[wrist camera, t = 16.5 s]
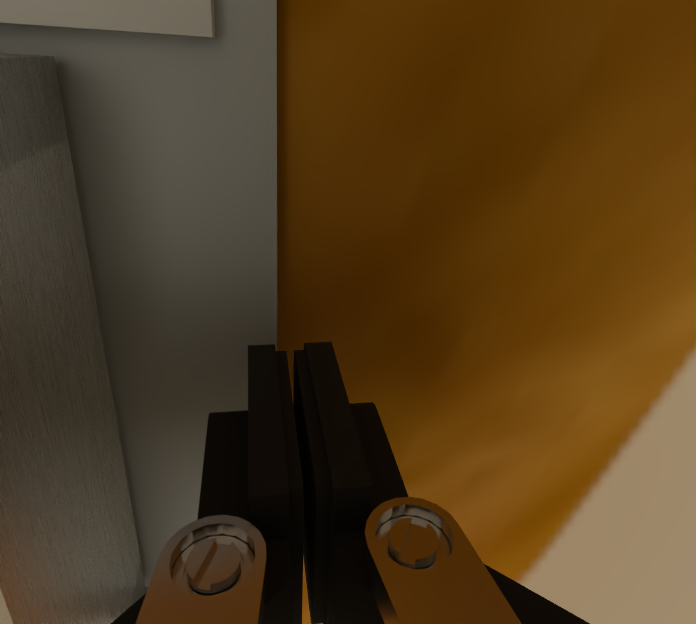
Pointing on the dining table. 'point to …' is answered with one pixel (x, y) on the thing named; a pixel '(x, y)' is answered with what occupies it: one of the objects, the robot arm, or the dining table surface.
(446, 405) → the dining table surface
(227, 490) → the robot arm
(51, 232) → the collar
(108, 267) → the base plate
